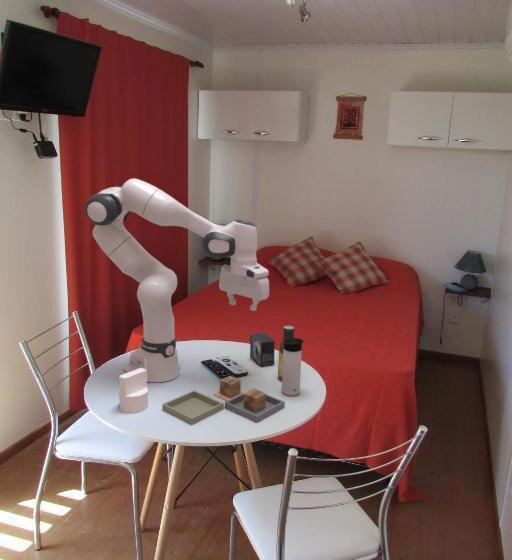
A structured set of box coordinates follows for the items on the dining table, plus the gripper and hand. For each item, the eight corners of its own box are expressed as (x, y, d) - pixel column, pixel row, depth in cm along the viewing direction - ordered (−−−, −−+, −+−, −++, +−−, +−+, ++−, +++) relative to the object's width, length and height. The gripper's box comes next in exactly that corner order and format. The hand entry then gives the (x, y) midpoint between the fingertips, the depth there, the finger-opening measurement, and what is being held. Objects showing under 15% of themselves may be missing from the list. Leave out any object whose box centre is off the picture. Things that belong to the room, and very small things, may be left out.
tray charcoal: (224, 409, 169) (224, 402, 168) (252, 395, 179) (252, 388, 179) (256, 424, 160) (257, 416, 160) (284, 408, 171) (284, 401, 170)
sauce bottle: (288, 383, 189) (290, 331, 184) (274, 379, 193) (276, 327, 188) (298, 377, 194) (300, 327, 189) (284, 373, 198) (286, 323, 193)
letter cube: (219, 393, 178) (219, 379, 176) (229, 389, 181) (230, 375, 180) (230, 398, 174) (230, 384, 173) (240, 393, 178) (240, 379, 177)
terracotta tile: (213, 396, 178) (213, 393, 177) (229, 389, 184) (229, 386, 183) (230, 404, 173) (230, 401, 172) (246, 396, 179) (246, 393, 178)
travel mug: (299, 399, 178) (302, 343, 173) (280, 396, 179) (282, 341, 174) (301, 391, 183) (304, 337, 179) (282, 389, 185) (285, 335, 180)
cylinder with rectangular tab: (136, 398, 175) (135, 365, 172) (154, 407, 169) (153, 372, 167) (114, 407, 168) (112, 373, 165) (131, 417, 163) (130, 381, 160)
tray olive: (162, 411, 167) (162, 404, 166) (194, 396, 177) (194, 390, 176) (191, 426, 158) (191, 418, 158) (223, 410, 168) (223, 403, 168)
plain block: (243, 407, 169) (244, 393, 168) (253, 402, 173) (254, 388, 172) (255, 412, 166) (255, 398, 165) (265, 407, 170) (265, 393, 169)
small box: (248, 358, 212) (249, 333, 209) (263, 355, 215) (263, 331, 212) (259, 367, 203) (260, 342, 200) (274, 365, 205) (275, 340, 203)
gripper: (215, 264, 181) (214, 303, 184) (260, 274, 168) (259, 315, 171) (227, 262, 185) (227, 299, 189) (272, 271, 172) (271, 311, 176)
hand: (242, 307), depth 180 cm, fingers open, 8 cm apart
